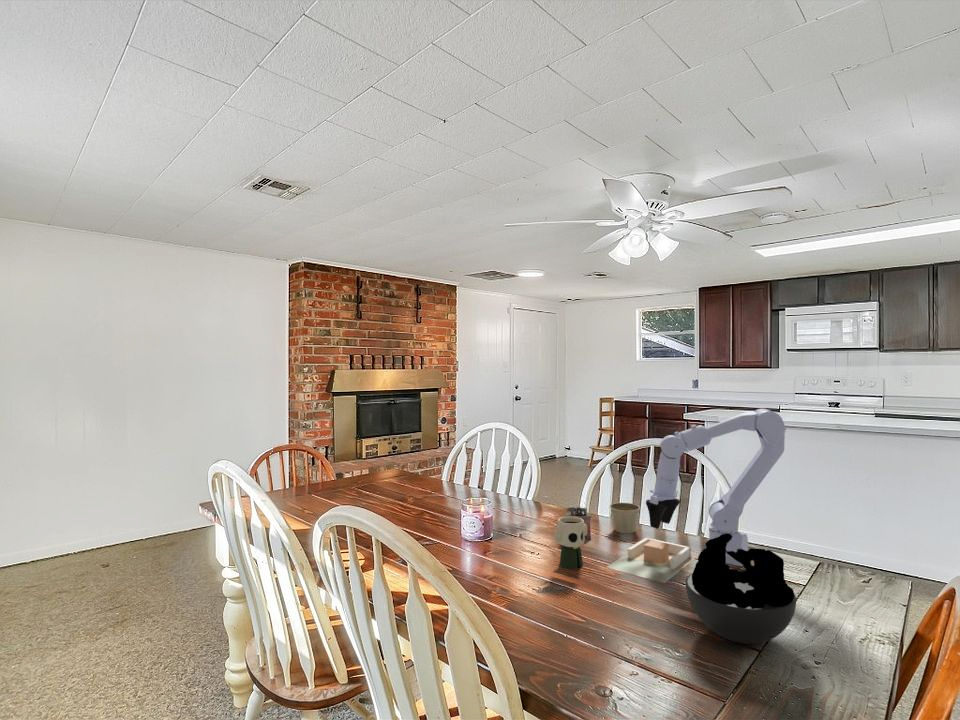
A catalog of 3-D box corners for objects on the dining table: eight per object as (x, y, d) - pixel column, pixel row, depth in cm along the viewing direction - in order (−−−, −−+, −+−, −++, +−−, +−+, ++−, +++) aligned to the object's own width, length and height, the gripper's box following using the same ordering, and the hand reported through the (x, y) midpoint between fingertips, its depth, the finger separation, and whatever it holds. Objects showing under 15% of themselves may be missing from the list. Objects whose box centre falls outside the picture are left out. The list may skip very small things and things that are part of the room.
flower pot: (633, 540, 167) (633, 512, 167) (605, 534, 173) (604, 507, 173) (644, 532, 175) (644, 505, 175) (617, 527, 181) (616, 501, 181)
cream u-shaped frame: (690, 556, 150) (690, 547, 150) (674, 569, 141) (674, 559, 141) (646, 546, 159) (645, 537, 159) (627, 557, 150) (627, 548, 150)
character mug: (563, 577, 140) (562, 526, 140) (547, 568, 146) (546, 519, 146) (595, 568, 145) (595, 520, 145) (578, 560, 151) (577, 513, 151)
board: (696, 561, 149) (696, 557, 149) (664, 587, 133) (664, 582, 133) (641, 548, 160) (641, 545, 160) (605, 571, 143) (605, 567, 143)
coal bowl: (796, 677, 95) (794, 570, 95) (676, 647, 105) (675, 550, 105) (798, 628, 112) (796, 537, 112) (695, 606, 122) (694, 523, 122)
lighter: (590, 537, 171) (590, 505, 171) (591, 540, 167) (591, 508, 167) (564, 536, 171) (564, 505, 171) (565, 540, 168) (565, 508, 168)
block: (668, 558, 149) (668, 544, 149) (661, 563, 145) (661, 549, 145) (651, 554, 152) (651, 540, 152) (643, 559, 148) (643, 545, 148)
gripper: (663, 471, 161) (656, 516, 161) (642, 476, 150) (635, 524, 150) (687, 478, 156) (680, 524, 157) (667, 484, 145) (659, 533, 146)
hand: (659, 525), depth 153 cm, fingers open, 7 cm apart
